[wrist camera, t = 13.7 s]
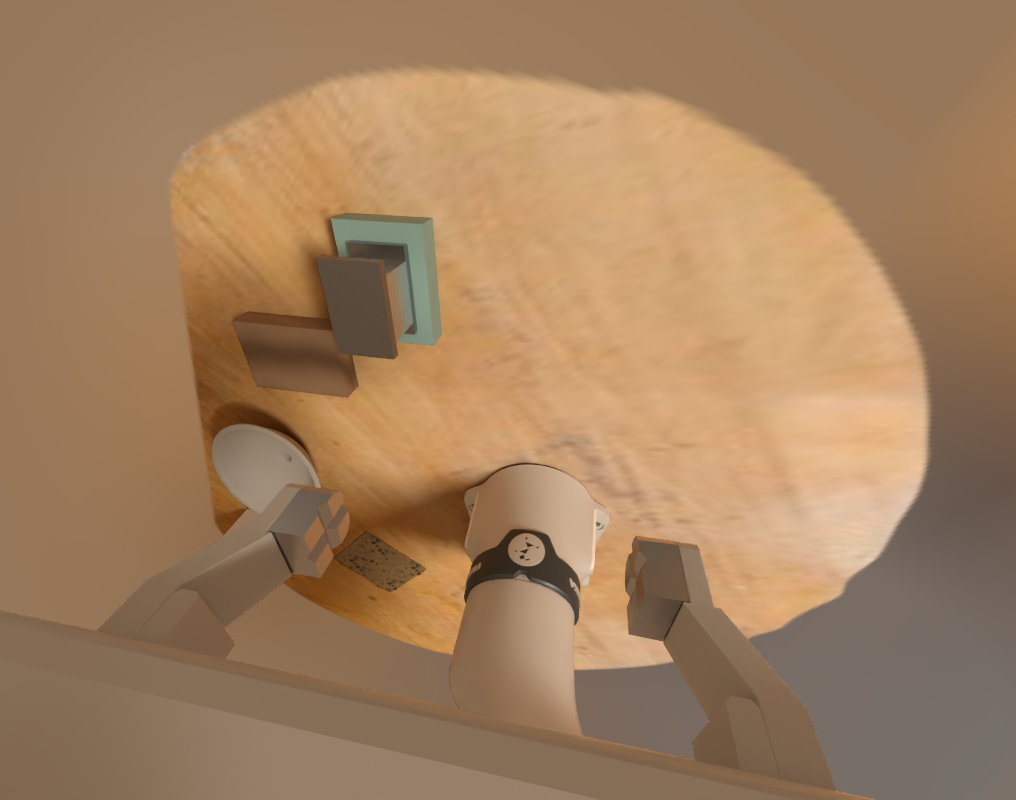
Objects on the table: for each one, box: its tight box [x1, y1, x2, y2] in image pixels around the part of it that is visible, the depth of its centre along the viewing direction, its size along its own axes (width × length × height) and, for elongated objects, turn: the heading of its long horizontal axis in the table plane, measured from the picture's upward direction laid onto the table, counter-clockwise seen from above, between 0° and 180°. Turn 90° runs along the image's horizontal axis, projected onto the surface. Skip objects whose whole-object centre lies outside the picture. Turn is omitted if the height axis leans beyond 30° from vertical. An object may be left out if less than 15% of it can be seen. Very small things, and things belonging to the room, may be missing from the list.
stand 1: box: [232, 312, 358, 398], centre depth 44 cm, size 8×11×2 cm
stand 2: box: [331, 213, 442, 346], centre depth 38 cm, size 11×8×2 cm
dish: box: [211, 423, 321, 514], centre depth 54 cm, size 18×14×5 cm
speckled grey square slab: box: [334, 531, 426, 592], centre depth 68 cm, size 12×12×1 cm
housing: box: [316, 240, 417, 359], centre depth 35 cm, size 5×8×6 cm, turn 179°
